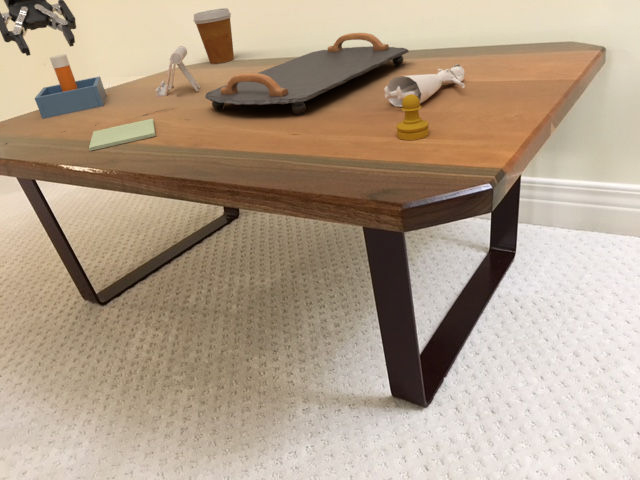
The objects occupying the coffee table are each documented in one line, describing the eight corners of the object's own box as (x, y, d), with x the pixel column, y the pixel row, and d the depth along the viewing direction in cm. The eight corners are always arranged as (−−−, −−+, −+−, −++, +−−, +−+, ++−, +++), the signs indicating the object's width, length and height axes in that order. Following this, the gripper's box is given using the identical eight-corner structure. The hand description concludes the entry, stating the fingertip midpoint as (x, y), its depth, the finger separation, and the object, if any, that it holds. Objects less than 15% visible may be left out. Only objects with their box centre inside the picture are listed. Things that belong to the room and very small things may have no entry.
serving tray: (324, 61, 118) (320, 31, 115) (420, 60, 105) (418, 26, 102) (192, 115, 92) (183, 79, 89) (297, 123, 79) (289, 80, 76)
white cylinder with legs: (164, 91, 115) (153, 50, 111) (201, 85, 115) (191, 44, 111) (158, 101, 107) (145, 57, 103) (197, 94, 108) (186, 50, 104)
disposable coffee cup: (197, 67, 137) (185, 16, 131) (212, 59, 145) (201, 11, 139) (232, 63, 134) (221, 11, 129) (245, 55, 142) (235, 6, 137)
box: (44, 122, 105) (34, 98, 103) (52, 110, 115) (43, 87, 113) (104, 109, 108) (96, 85, 105) (107, 98, 118) (100, 76, 115)
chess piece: (410, 127, 70) (408, 89, 67) (435, 131, 67) (433, 91, 64) (390, 137, 67) (387, 97, 65) (415, 141, 65) (412, 100, 62)
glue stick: (67, 109, 110) (48, 58, 105) (69, 106, 112) (50, 56, 107) (83, 106, 110) (65, 55, 105) (84, 103, 113) (66, 53, 108)
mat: (90, 151, 82) (88, 147, 82) (94, 134, 91) (93, 131, 91) (155, 136, 84) (154, 132, 84) (153, 121, 93) (153, 118, 93)
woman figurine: (359, 77, 79) (430, 57, 90) (361, 108, 80) (430, 84, 91) (426, 81, 71) (495, 58, 82) (427, 115, 73) (494, 88, 84)
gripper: (-24, -21, 106) (9, 42, 103) (51, -32, 113) (84, 27, 109) (-15, 8, 113) (16, 68, 109) (56, -4, 119) (87, 53, 116)
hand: (50, 48), depth 109 cm, fingers open, 8 cm apart
